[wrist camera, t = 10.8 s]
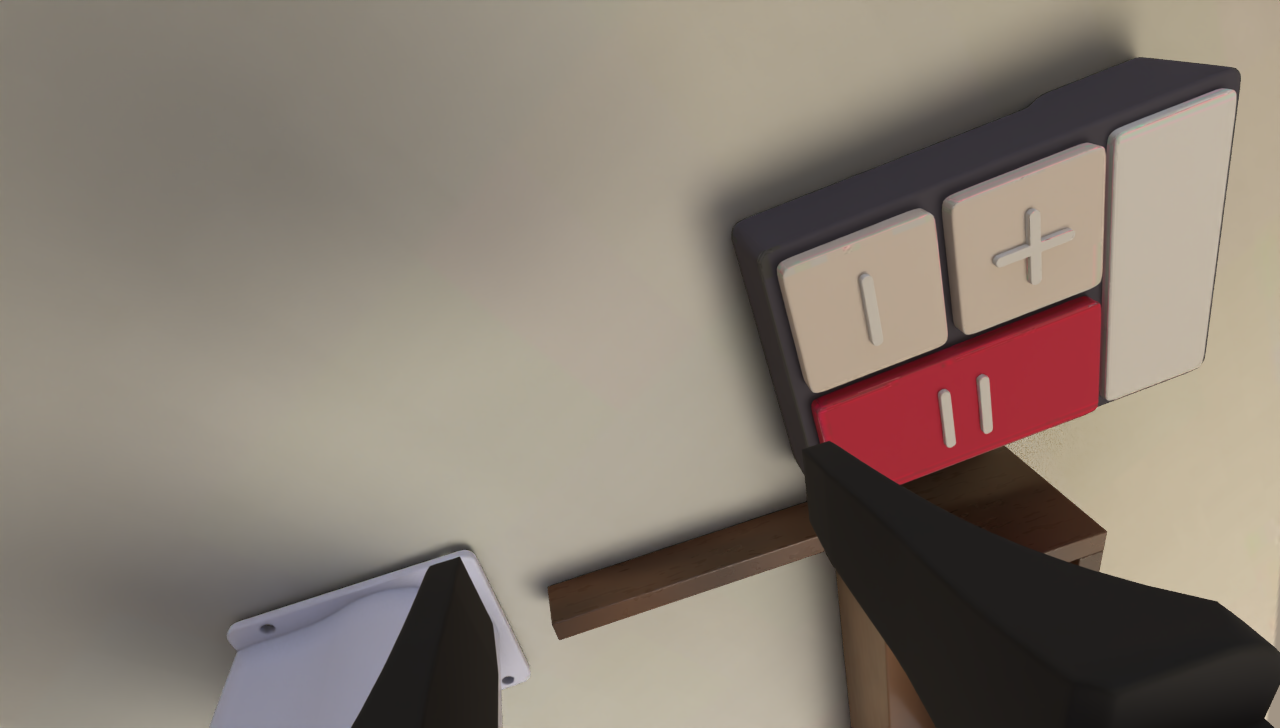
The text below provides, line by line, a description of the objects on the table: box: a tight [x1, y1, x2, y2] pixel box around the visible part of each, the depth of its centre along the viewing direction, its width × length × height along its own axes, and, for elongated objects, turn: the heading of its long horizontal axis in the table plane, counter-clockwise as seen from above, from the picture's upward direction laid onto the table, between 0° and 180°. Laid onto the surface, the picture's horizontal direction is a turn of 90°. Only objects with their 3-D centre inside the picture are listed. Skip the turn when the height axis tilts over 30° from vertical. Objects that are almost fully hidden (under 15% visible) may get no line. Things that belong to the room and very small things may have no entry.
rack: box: [548, 446, 1107, 728], centre depth 31 cm, size 20×21×6 cm
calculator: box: [732, 57, 1241, 485], centre depth 23 cm, size 11×4×15 cm
